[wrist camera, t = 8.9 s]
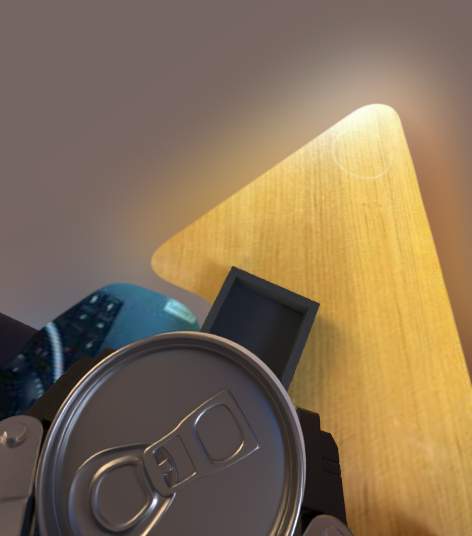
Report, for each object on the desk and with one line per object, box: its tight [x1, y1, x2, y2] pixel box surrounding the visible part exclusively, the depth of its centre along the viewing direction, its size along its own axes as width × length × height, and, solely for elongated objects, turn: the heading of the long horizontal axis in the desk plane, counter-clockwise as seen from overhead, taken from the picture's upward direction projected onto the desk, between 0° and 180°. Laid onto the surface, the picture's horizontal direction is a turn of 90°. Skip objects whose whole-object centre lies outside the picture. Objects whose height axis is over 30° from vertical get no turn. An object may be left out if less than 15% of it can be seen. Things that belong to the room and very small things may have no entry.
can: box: [35, 331, 306, 536], centre depth 13 cm, size 6×6×12 cm
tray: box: [200, 266, 320, 392], centre depth 32 cm, size 9×17×3 cm, turn 155°
